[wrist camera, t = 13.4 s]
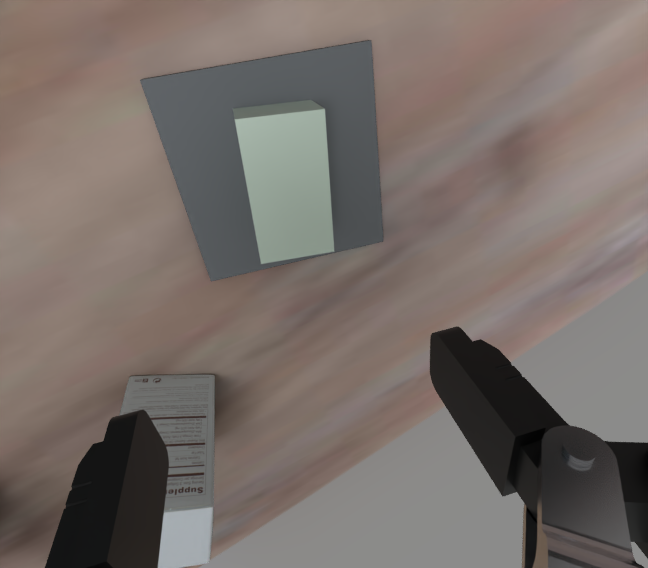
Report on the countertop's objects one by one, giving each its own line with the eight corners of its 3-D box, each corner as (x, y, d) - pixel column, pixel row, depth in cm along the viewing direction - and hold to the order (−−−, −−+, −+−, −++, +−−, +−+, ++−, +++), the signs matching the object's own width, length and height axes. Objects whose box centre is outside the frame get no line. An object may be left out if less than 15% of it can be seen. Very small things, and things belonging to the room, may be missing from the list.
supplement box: (213, 426, 40) (210, 566, 29) (132, 431, 37) (97, 582, 27) (217, 371, 36) (216, 508, 26) (128, 372, 34) (87, 521, 23)
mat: (380, 238, 32) (383, 241, 32) (211, 277, 31) (211, 281, 30) (368, 40, 25) (371, 40, 24) (141, 79, 23) (140, 80, 23)
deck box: (311, 99, 25) (324, 108, 22) (321, 228, 30) (334, 251, 27) (232, 108, 25) (234, 119, 21) (256, 238, 29) (261, 264, 26)
